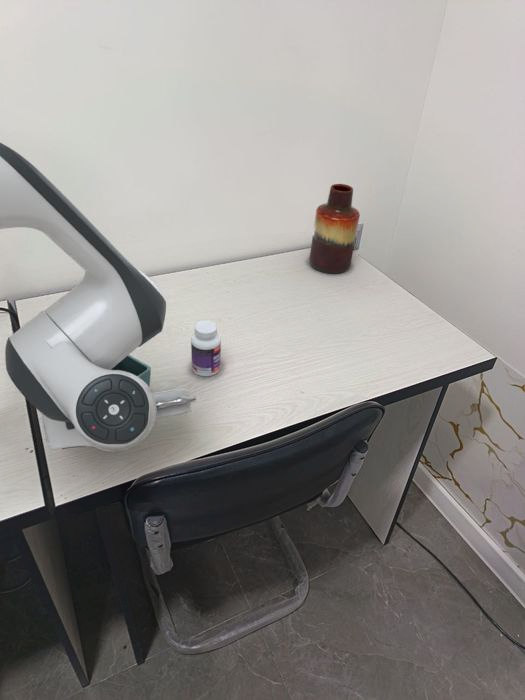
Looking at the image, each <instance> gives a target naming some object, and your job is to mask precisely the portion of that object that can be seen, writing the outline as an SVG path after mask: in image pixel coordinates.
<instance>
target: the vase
mask: <svg viewBox="0 0 525 700" xmlns="http://www.w3.org/2000/svg"><path fill="white" fill-rule="evenodd" d="M353 196H354V188H353V187H352V186H351V185H348V184H345V183H335V184H332V185H331V186H330V188H329V192H328V197H327V202H325V203H322V204H319V205H317V207H316V210H315V215H314V223H313V230H312V231H313V232H312V238H311V245H310V253H309V260H308V261H309V262H308V263H309V265H310V266H311V267H312V268H313V269H314V270H316V271H318V272H321V273H324V274H330V275H338V274H339V275H340V274H343V273H347V272H348V270H350V268H351V264H352V260H353V259H352V258H353V253H354V250H355V249H354V248H355V243H356V239H357V233H358V228H359V222H360V217H361V213H360V211H359V210H358V209H357V208H356V207H354V206H353Z"/></svg>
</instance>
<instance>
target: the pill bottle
mask: <svg viewBox="0 0 525 700" xmlns="http://www.w3.org/2000/svg"><path fill="white" fill-rule="evenodd" d="M221 340H222V339H221V336H220V334H219V333H218V326H217V324H216V323H215V322H214V321H212V320H207V319H205V320H199V321H198V322H196V323H195V325H194V333H193V334H192V335H191V338H190V351H191V369H192V371H193V373H195V374H196V375H197V376H201V377H211V376H214V375H217V374H218V373H219V372H220V369H221V356H222V355H221V353H222V352H221V351H222V349H221V347H222V341H221Z"/></svg>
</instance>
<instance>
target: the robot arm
mask: <svg viewBox="0 0 525 700" xmlns="http://www.w3.org/2000/svg"><path fill="white" fill-rule="evenodd" d="M14 228H27V229H34V230H37V231H39V232H42V233H43V234H44V235H45V236H47V238H48V239H50V240H51V241H52V242H53V243H54V244H55V245H56V246H57V247H58V248H59V249H61V250H62V251H63V252H64V253H65V254H66V255H67V256H68V257H69V258H71V260H72V261H74V262H75V263H76V264H77V265H78V266H80V267H81V269H83V270H84V275H83V278H81V281H80V282H79V283H78V284H77V285H76V286H75V287H73V288H72V289H70V290H69V291H68V292H66V293H65V294H63V296H61V297H60V298H59V299H57V300H56V301H55V302H54V303H53V304H51V305H50V306H48V307H47V308H46V309H44V310H43V311H40V312H39V313H38V314H37V315H36V316H34V317H33V318H31V319H30V320H29V321H28V322H26V323H25V324H24V325H22V326H21V327H20V328H19V329H18V330H16V331H15V332H14V333H12V334H11V335H10V336H9V337H7V340H6V343H5V352H4V356H5V357H4V360H5V369H6V372H7V375H8V377H9V379H10V380H11V382H12V383H13V384H14V386H15V387H16V389H17V390H18V391H19V392H20V394H21V395H22V396H23V397H24V398H25V399H26V401H28V403H30V405H32V406H33V407H34V408H35V409H36V410H38V411H39V412H40V413H41V415H42V416H41V417H42V424H43V425H42V426H43V431H44V437H45V441H46V443H47V444H49V446H50V449H51V450H55V451H56V450H66V449H74V448H85V447H86V448H87V447H94V448H95V449H98V450H102V451H105V452H115V453H116V452H122V451H125V450H128V449H131V448H133V447H135V446H136V445H138V444H140V443H141V442H143V440H145V439H146V438H147V437H148V435H149V434H150V432H151V431H152V429H153V427H154V425H155V422H156V420H160V419H165V418H171V417H176V416H182V415H187V414H189V413H191V412H192V405H191V404H192V403H195V402H197V396H196V395H190V393H189V389H188V388H185V387H182V388H172V389H166V390H161V391H160V390H159V391H155V392H153V391H152V389H151V387H150V386H148V385H147V384H146V383H145V382H144V381H143V380H142V379H140V378H139V377H137V376H136V375H134V374H132V373H129V372H126V371H121V370H111V369H112V368H113V367H115V366H116V365H117V364H118V363H119V362H121V361H122V360H123V359H124V358H125V357H126V356H128V355H130V354H132V353H133V352H134V351H136V349H137V348H141V347H142V346H143V345H144V344H146V343H148V342H149V341H150V340H151V339H153V338H154V337H156V336H157V335H158V334H160V333H161V332H162V331H163V328H164V324H165V320H166V313H167V312H166V311H167V301H166V299H165V298H164V295H163V294H162V292H161V290H160V288H159V287H158V286H157V285H156V283H155V282H154V281H153V280H152V279H151V278H150V277H149V276H148V275H147V274H146V273H145V272H144V271H142V270H141V269H140V268H138V267H137V266H135V265H134V264H132V263H131V262H130V261H129V260H128V259H127V258H126V257H125V256H124V255H123V254H122V253H121V252H120V251H119V250H118V249H117V248H116V247H115V246H114V245H113V244H112V243H111V241H110V240H108V238H107V237H106V236H104V234H103V233H102V232H100V230H99V229H98V228H97V227H96V226H95V225H94V224H93V223H92V222H91V221H90V220H89V219H88V218H87V217H86V216H85V214H84V213H82V212H81V210H80V209H79V208H78V207H77V206H75V204H73V202H72V201H70V199H69V198H68V197H67V196H66V195H65V194H64V193H63V192H62V191H61V190H60V189H59V188H58V187H56V185H55V184H54V183H53V182H51V180H49V178H47V177H46V176H45V175H44V174H43V173H42V172H41V171H40V170H39V169H38V168H37V167H36V166H35V165H33V164H32V163H31V162H30V161H29V160H28V159H26V157H24V156H22V155H21V154H20V153H19V152H17V151H15V150H14V149H12V148H11V147H9V146H8V145H5V144H4V143H2V142H0V230H4V229H5V230H6V229H14Z"/></svg>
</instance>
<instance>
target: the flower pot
mask: <svg viewBox="0 0 525 700" xmlns="http://www.w3.org/2000/svg"><path fill="white" fill-rule="evenodd" d="M111 370H121V371H126V372H129V373H132V374H134V375H136V376H137V377H139V378H140V379H142V380H143V381H144V382H145V383H146V384H147V385H148V386H149V387H150V386H151V385H150V384H151V373H152V367H151V366H150V365H148V364H146V363H145V362H142V361H141V360H139V359H137V358H136V357H134V356H133V355H130V354H129V355H128V356H126V357H125V358H124V359H123V360H122V361H121V362H119V363H118V364H117V365H116V366H115V367H113V368H112V369H111Z"/></svg>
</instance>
